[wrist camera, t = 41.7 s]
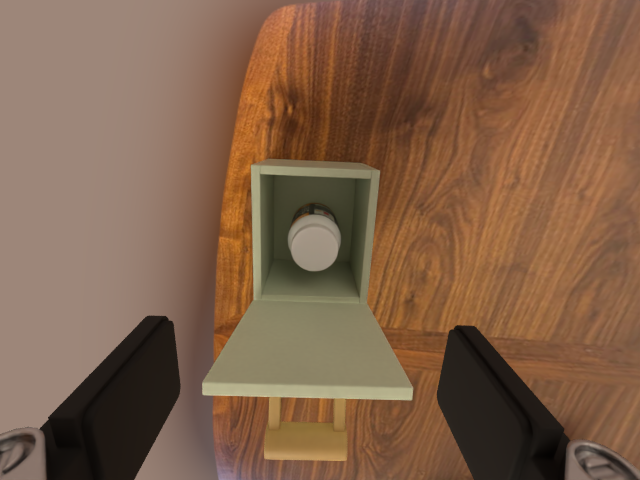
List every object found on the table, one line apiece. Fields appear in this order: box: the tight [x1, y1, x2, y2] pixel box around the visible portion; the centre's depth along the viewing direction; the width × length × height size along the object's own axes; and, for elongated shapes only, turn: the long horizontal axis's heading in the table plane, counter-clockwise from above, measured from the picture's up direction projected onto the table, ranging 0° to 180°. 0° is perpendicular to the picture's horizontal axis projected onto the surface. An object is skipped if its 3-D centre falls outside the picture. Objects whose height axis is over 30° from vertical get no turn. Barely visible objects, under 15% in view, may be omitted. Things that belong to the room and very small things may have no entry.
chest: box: [251, 159, 380, 304], centre depth 35 cm, size 14×12×11 cm
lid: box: [202, 300, 413, 461], centre depth 24 cm, size 14×12×6 cm
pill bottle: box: [288, 202, 341, 271], centre depth 35 cm, size 6×6×10 cm
